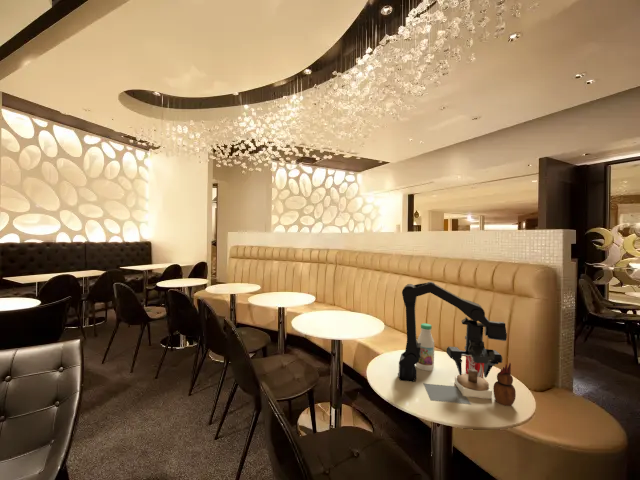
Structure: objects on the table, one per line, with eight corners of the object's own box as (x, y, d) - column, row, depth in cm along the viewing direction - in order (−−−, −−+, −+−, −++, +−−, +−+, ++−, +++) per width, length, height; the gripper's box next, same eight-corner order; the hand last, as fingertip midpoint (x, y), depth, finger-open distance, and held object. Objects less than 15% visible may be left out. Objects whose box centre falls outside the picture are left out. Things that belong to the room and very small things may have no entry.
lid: (462, 389, 109) (463, 376, 109) (453, 375, 120) (453, 363, 119) (494, 392, 107) (494, 378, 107) (481, 377, 118) (482, 365, 118)
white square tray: (463, 397, 109) (463, 388, 109) (454, 384, 119) (454, 375, 119) (491, 400, 108) (492, 391, 108) (480, 386, 118) (480, 377, 118)
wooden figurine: (511, 400, 108) (512, 360, 108) (517, 409, 103) (519, 367, 102) (490, 397, 110) (492, 358, 109) (496, 406, 104) (497, 365, 104)
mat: (430, 401, 106) (430, 400, 106) (423, 384, 118) (423, 383, 118) (471, 405, 104) (471, 404, 104) (459, 388, 116) (459, 386, 116)
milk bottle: (418, 362, 139) (420, 320, 138) (435, 367, 134) (437, 324, 134) (413, 368, 132) (415, 324, 132) (431, 373, 128) (432, 328, 127)
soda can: (486, 381, 122) (487, 352, 122) (467, 378, 124) (469, 351, 124) (480, 373, 129) (481, 346, 129) (463, 371, 131) (464, 344, 130)
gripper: (456, 342, 106) (454, 384, 107) (511, 346, 104) (509, 389, 104) (446, 332, 117) (445, 370, 118) (496, 335, 115) (494, 374, 115)
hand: (472, 376), depth 113 cm, fingers open, 9 cm apart
